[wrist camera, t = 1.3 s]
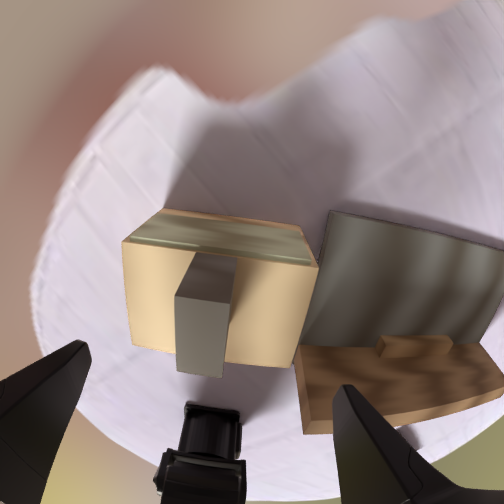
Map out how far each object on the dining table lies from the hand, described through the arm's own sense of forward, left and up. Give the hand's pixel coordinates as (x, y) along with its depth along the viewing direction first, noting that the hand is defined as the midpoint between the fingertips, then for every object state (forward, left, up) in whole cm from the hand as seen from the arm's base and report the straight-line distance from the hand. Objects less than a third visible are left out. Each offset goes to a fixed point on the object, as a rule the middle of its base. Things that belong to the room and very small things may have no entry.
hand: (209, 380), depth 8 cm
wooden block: (-1, -2, -13) cm, 13 cm away
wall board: (+18, -4, -13) cm, 23 cm away
